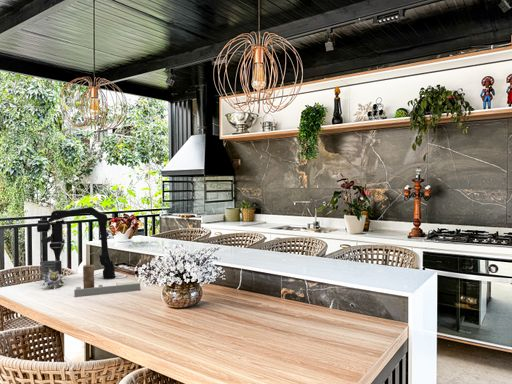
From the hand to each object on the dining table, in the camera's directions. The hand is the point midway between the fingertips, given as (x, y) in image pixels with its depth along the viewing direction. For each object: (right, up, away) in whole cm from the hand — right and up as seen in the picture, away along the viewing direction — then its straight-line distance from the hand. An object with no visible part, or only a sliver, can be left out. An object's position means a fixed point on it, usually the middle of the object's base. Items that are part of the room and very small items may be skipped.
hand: (57, 257), depth 232 cm
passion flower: (+3, -15, -12) cm, 19 cm away
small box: (-11, -15, +13) cm, 23 cm away
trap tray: (+38, -14, -21) cm, 45 cm away
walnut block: (+29, -14, -24) cm, 40 cm away
